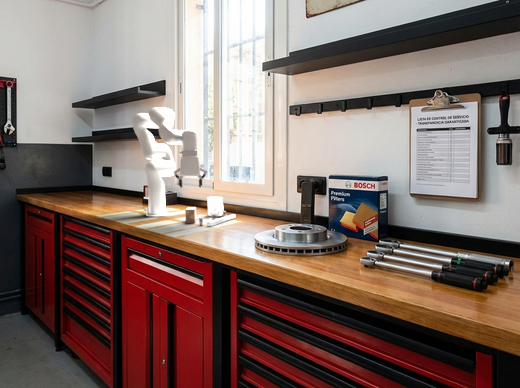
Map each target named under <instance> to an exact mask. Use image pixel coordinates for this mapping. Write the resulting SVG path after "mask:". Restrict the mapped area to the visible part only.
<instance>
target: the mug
mask: <svg viewBox="0 0 520 388" xmlns="http://www.w3.org/2000/svg"><path fill="white" fill-rule="evenodd" d="M224 209H225V208H224V203H223V197H222V196H209V197H207V216H208V217H211V218H212V214H215V218H216V217H221V216H222V217H223V211H224Z"/></svg>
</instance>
